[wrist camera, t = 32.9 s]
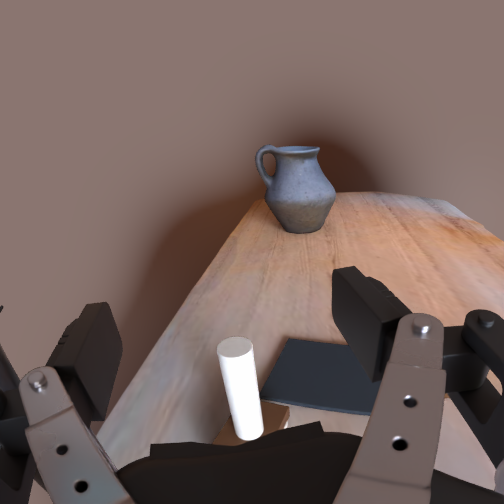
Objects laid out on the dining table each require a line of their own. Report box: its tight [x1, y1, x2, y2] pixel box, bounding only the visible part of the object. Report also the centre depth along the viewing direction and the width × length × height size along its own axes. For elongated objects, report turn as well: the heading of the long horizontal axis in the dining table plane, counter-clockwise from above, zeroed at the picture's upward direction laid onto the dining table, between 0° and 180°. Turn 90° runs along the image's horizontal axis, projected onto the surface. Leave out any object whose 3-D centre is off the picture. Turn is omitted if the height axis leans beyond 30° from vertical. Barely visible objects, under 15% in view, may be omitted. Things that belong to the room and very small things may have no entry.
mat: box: [259, 338, 382, 416], centre depth 39 cm, size 16×12×1 cm
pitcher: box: [255, 145, 336, 234], centre depth 90 cm, size 21×22×25 cm
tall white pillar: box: [212, 336, 290, 446], centre depth 27 cm, size 8×5×14 cm, turn 157°
